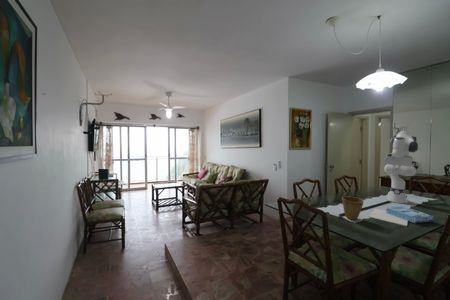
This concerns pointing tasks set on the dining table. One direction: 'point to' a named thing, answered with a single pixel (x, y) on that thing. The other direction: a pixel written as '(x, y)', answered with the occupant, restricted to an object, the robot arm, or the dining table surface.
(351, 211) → the plant pot
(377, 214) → the white flat board
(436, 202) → the dining table surface
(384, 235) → the dining table surface
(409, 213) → the gum box
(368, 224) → the dining table surface
